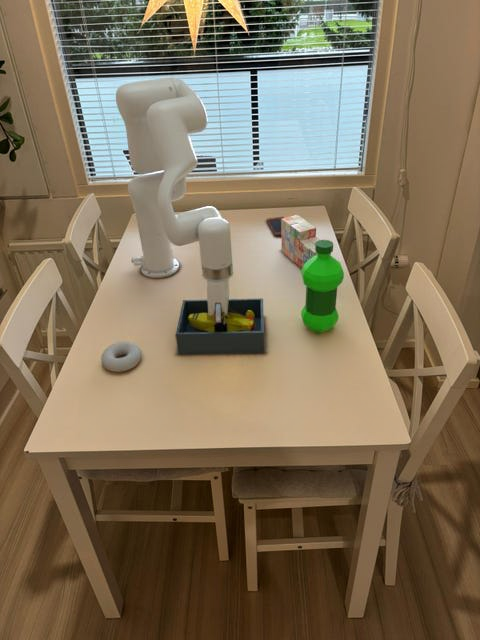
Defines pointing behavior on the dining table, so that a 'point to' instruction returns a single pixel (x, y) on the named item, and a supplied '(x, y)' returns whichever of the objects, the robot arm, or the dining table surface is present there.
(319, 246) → the plastic bottle
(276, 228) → the smartphone
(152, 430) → the dining table surface
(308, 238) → the stack of blocks
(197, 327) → the yellow toy submarine
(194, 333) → the tote
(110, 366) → the donut
